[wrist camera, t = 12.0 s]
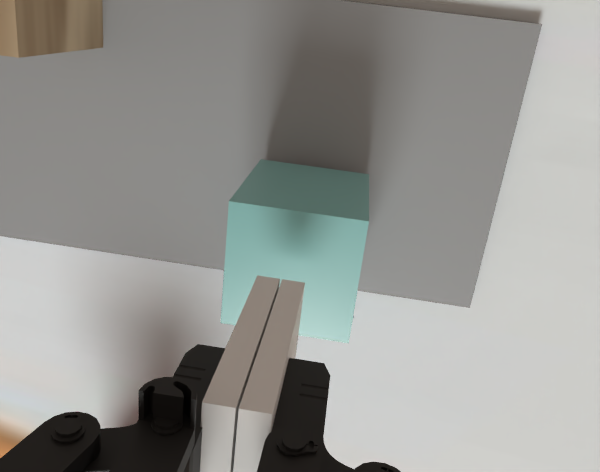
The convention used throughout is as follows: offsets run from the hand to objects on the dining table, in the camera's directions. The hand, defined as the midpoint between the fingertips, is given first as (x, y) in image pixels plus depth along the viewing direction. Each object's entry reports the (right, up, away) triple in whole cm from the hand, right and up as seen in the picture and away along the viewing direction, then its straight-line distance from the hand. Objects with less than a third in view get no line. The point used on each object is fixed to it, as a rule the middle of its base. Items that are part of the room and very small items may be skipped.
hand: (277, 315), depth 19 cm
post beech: (-10, +13, +8) cm, 18 cm away
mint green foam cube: (+1, +3, +9) cm, 10 cm away
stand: (-4, +8, +10) cm, 13 cm away
